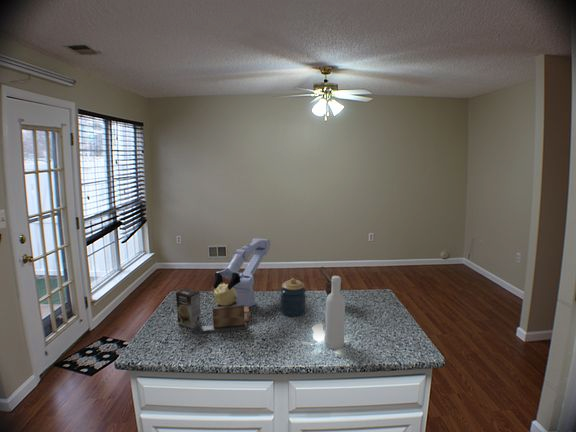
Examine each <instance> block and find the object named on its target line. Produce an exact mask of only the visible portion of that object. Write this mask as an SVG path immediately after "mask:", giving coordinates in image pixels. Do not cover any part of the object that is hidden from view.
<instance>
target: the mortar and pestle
mask: <svg viewBox="0 0 576 432" xmlns="http://www.w3.org/2000/svg"><path fill="white" fill-rule="evenodd" d="M319 271H320V274H322V276H324V278H325V279H324V280H325V281H324V283H325V293H326V295H327V296H328V295H329V294H330V293H331V289H332V281H331V280H332V277H330V276H329V274H328V272H327V270H326V268H325V267H324V266H321V267H320V268H319ZM342 283H343V282H342V280H341V288H340V293H341V294H342V286H343V285H342Z"/></svg>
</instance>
